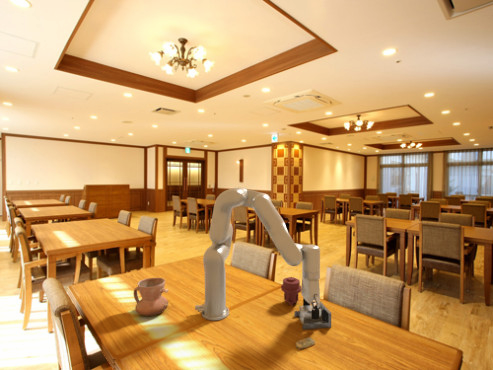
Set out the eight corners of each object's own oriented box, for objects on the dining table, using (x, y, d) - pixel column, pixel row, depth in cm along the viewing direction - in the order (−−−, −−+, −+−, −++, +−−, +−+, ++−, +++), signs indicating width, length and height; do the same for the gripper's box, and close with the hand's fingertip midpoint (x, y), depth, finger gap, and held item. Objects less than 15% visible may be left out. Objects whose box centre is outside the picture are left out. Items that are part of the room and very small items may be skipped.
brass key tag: (299, 350, 97) (299, 347, 96) (294, 345, 99) (294, 342, 99) (314, 344, 100) (314, 341, 100) (309, 340, 103) (309, 336, 103)
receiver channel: (303, 329, 110) (303, 315, 109) (294, 315, 121) (294, 302, 121) (331, 327, 111) (331, 313, 111) (319, 313, 123) (319, 300, 122)
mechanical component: (301, 299, 137) (301, 308, 127) (281, 297, 139) (280, 306, 129) (301, 275, 137) (301, 283, 127) (281, 274, 139) (280, 281, 129)
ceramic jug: (176, 306, 130) (175, 277, 129) (159, 321, 116) (158, 289, 115) (144, 302, 134) (144, 274, 134) (124, 316, 120) (123, 285, 120)
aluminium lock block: (303, 325, 113) (303, 311, 113) (299, 319, 118) (299, 306, 118) (322, 323, 114) (323, 310, 114) (318, 317, 119) (318, 304, 119)
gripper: (296, 267, 123) (295, 304, 124) (310, 282, 106) (310, 324, 107) (311, 266, 124) (311, 302, 125) (328, 281, 107) (327, 322, 108)
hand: (310, 312), depth 116 cm, fingers open, 9 cm apart
